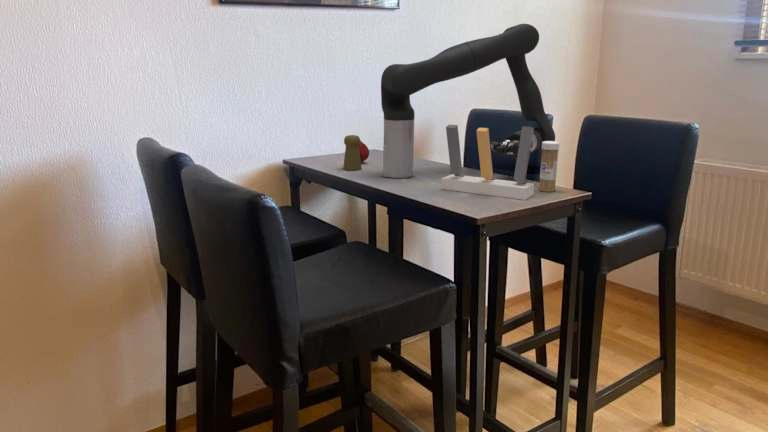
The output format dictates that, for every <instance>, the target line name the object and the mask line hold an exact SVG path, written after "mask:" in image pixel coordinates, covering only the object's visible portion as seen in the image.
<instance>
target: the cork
mask: <svg viewBox="0 0 768 432" xmlns="http://www.w3.org/2000/svg"><path fill="white" fill-rule="evenodd" d="M360 140H361V138H360V137H359V135H355V134H350V135H349V134H348V135H346V136H344V140H343V144H344V145H345V152H344V159H343V165H342V167H343V168H342V170H344V171H347V172H356V171H357V172H358V171H362V169H363V168H362V163H361V160H360V153H359V144H360Z"/></svg>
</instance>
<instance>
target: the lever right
mask: <svg viewBox="0 0 768 432" xmlns="http://www.w3.org/2000/svg"><path fill="white" fill-rule="evenodd" d="M520 131H521V137H520V143H519V149H518V155H517V158H516V163H515V166H514V167H515V168H514V175H513V180H515V181H516V182H517V183H518V184H522V183H523V182H526V179H527V172H528V166H529V160H530V156H531V155H530V154H531V153H530V149H531V143H532V137H533V131H534V128H533V127H532V126H523V125H522V126H521V130H520Z"/></svg>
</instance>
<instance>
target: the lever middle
mask: <svg viewBox="0 0 768 432" xmlns="http://www.w3.org/2000/svg"><path fill="white" fill-rule="evenodd" d="M489 131H490V129H489V127H478V128H477V129H476V140H477V147H478V148H477V149H478V159H479V160H478V161H479V167H480V169H479V170H480V178H485V180H490V179H491V178H493V176H494V173H493V162H492V161H493V160H492V152H491V151H492V150H491V141H490V132H489Z"/></svg>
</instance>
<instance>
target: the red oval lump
mask: <svg viewBox="0 0 768 432" xmlns="http://www.w3.org/2000/svg"><path fill="white" fill-rule="evenodd" d="M359 153H360V160H361V164H362V163H364V162H365V161H366V160H368V158H369V157H370V149H369V148H368V146H367V145H366V144H365V143H364V142H363V141H362V140H361V139H360V144H359Z"/></svg>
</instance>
